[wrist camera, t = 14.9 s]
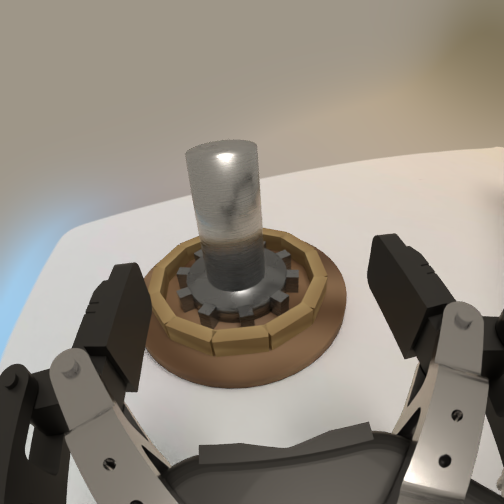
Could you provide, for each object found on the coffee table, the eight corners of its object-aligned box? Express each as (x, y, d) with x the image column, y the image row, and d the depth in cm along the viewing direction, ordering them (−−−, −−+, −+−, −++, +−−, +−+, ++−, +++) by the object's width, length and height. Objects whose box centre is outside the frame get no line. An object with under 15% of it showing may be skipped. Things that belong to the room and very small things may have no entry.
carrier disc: (206, 230, 35) (202, 208, 33) (360, 259, 28) (364, 235, 26) (98, 335, 22) (85, 311, 21) (304, 424, 16) (307, 403, 14)
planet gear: (217, 245, 30) (201, 131, 23) (312, 265, 26) (314, 134, 20) (156, 310, 23) (114, 173, 17) (268, 348, 19) (258, 183, 13)
